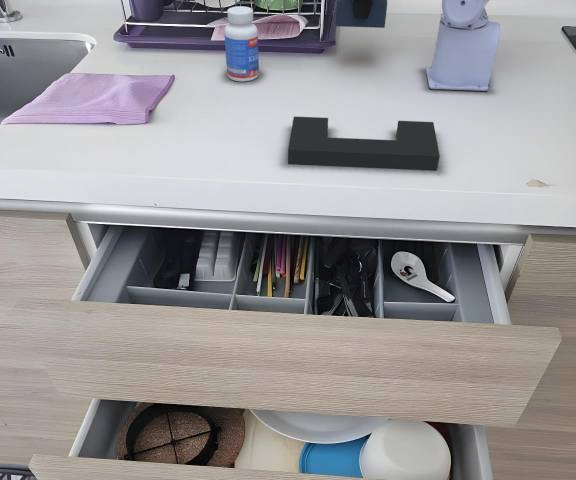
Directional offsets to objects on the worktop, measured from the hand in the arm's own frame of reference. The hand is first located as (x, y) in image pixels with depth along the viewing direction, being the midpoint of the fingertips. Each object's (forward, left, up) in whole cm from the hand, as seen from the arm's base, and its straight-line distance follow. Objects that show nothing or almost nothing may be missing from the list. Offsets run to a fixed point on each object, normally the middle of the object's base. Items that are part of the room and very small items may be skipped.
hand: (361, 12), depth 95 cm
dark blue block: (0, 0, -1) cm, 1 cm away
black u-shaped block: (-1, +30, -8) cm, 31 cm away
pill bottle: (+19, +6, -8) cm, 22 cm away
